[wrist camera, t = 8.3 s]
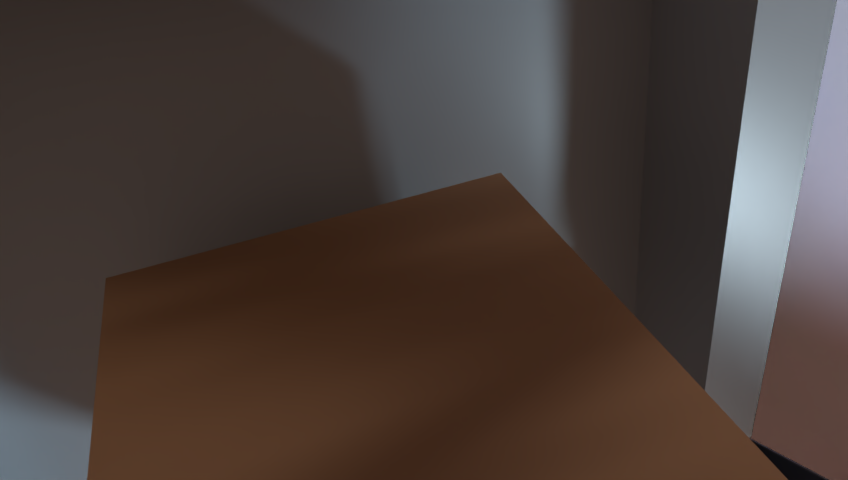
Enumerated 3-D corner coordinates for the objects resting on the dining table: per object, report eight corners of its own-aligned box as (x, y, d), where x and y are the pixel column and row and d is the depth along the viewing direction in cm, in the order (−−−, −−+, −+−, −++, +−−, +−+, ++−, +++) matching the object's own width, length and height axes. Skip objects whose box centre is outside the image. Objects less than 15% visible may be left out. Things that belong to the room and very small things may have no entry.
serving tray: (711, -284, 10) (898, -311, 7) (653, 423, 18) (734, 525, 15) (-533, -106, 7) (-892, -54, 5) (49, 640, 15) (30, 806, 12)
